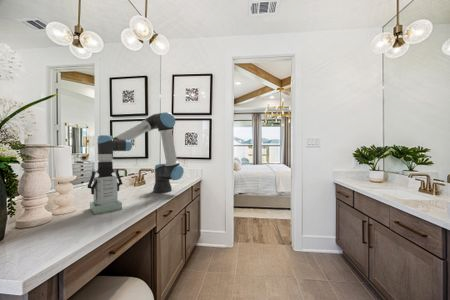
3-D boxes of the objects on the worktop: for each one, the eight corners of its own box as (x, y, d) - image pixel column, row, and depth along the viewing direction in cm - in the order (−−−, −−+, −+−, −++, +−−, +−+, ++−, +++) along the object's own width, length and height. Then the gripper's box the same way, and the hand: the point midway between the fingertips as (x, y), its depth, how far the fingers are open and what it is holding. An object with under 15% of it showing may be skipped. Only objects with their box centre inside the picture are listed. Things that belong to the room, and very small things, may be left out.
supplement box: (118, 204, 121) (117, 176, 121) (102, 208, 113) (101, 178, 113) (109, 202, 126) (108, 175, 126) (93, 205, 118) (92, 177, 118)
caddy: (115, 204, 130) (115, 198, 130) (122, 209, 118) (121, 202, 118) (90, 208, 121) (89, 202, 121) (93, 214, 109) (93, 207, 109)
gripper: (124, 160, 130) (125, 194, 130) (80, 162, 115) (81, 200, 115) (127, 160, 124) (128, 196, 124) (82, 162, 109) (83, 203, 109)
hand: (105, 198), depth 120 cm, fingers closed on supplement box, 11 cm apart
